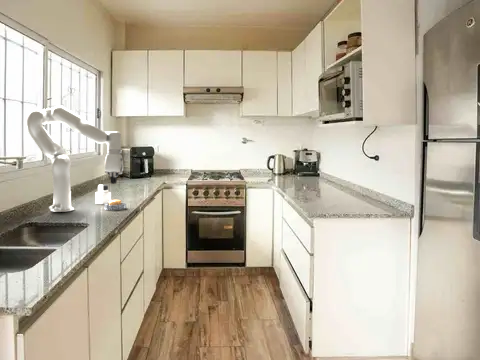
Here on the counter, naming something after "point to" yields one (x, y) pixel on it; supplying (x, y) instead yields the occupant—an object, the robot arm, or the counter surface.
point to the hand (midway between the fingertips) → (113, 183)
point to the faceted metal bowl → (115, 206)
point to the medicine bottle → (102, 195)
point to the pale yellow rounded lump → (114, 202)
